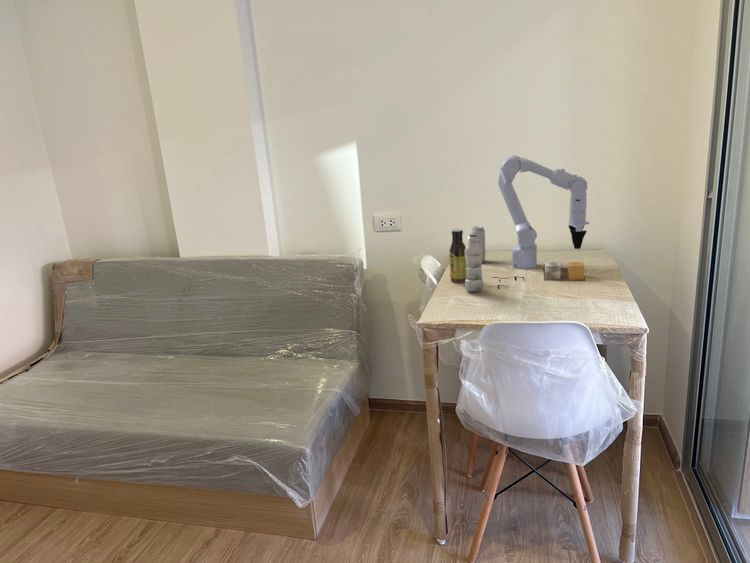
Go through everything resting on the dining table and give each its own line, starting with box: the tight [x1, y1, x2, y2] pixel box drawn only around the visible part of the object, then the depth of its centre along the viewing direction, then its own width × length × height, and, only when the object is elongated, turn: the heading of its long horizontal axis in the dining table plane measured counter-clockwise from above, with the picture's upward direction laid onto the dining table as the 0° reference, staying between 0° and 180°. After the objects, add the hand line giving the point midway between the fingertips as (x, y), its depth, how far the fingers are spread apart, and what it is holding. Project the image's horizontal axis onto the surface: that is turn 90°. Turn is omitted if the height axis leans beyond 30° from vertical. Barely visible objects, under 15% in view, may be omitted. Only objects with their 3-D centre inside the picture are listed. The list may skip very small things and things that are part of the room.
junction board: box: [542, 261, 586, 282], centre depth 199 cm, size 14×16×6 cm
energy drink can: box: [469, 225, 486, 263], centre depth 226 cm, size 6×6×15 cm
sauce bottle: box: [448, 228, 466, 283], centre depth 202 cm, size 7×6×20 cm
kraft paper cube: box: [567, 261, 585, 280], centre depth 194 cm, size 5×5×5 cm
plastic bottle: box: [464, 234, 484, 293], centre depth 189 cm, size 6×7×20 cm
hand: (576, 246), depth 204 cm, fingers open, 7 cm apart
